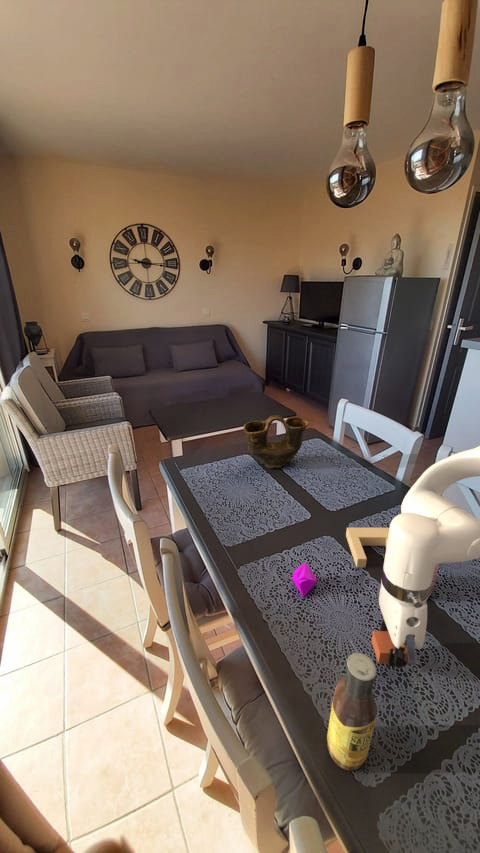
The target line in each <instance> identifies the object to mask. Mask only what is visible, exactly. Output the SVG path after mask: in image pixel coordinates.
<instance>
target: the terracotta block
mask: <svg viewBox="0 0 480 853" xmlns="http://www.w3.org/2000/svg"><path fill="white" fill-rule="evenodd" d="M371 645H372V648H373V650H374V654H375V657H376V660H377V664H385V665H387V664H388V658H389V653H390V649H393V642H392V640H391V637H390V634H389V632H388V631H380V630H373V631H372V636H371ZM400 647H405V645H402V646H400ZM416 654H417V652H415V655H416ZM388 665H389V664H388Z"/></svg>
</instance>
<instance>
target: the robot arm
mask: <svg viewBox="0 0 480 853" xmlns="http://www.w3.org/2000/svg"><path fill="white" fill-rule="evenodd" d="M474 477H480V445H478V446H476V447H474V448H471V449H466V450H462V451H460V452H456V453H454V454H451V455H449V456H446V457H445V458H443V459H440V460H439V461H437V462H435V463H434V464H432V465H430V466H429V467H427V469H425V470H424V472H423V473H422V474H421V475H420V476H419V477H418V479H417V480H416V481H415V482H414V484H413V485H412V486H411V487H410V489H409V490H408V491H407V493H406V494H405V495H404V497H403V500H402V502H401V506H400V513H399V514H396V515H395V516H394V517H393V518H392V519H391V522H390V524H389V527H388V528H389V534H388V540H387V547H385V554H384V555H385V556H384V561H383V567H382V573H381V579H380V588H379V594H378V606H379V609H380V612H381V617H380V620H381V623H380V627H379V631H388V632H389V634H390V637H391V640H392V642H393V649H390V653H389V658H388V666H389V667H396V668H403V667H406V666H407V665H411V666H413V665H414V666H415V665H417V658H416V654H415V653H416V650H422V649H423V648H424V644H425V639H426V633H427V626H428V603H427V600H428V599H429V597H430V596H429V592H430V587H431V583H432V579H433V574H434V570H435V566H436V565H437V564H450V563H464V562H470V561H474V560H477V559H480V519H478V518H477V517H475V516H473V515H471V514H470V513H468V512H467V511H465V510H464V509H462V508H461V507H459V505H456V504H455V503H453V502H452V501H450V500H449V499H447V498H446V497H444V496H443V494H444V492H445V491H447V489H448V488H450V486H452V485H454V484H455V483H457V482H459V481H462V480H464V479H469V478H474ZM428 596H429V597H428ZM402 645H405V647H400V646H402Z"/></svg>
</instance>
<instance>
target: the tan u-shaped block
mask: <svg viewBox="0 0 480 853" xmlns="http://www.w3.org/2000/svg"><path fill="white" fill-rule="evenodd" d="M389 528H390V527H346V532H345V538H346V540H347V544H348V546H349V549H350V552H351V555H352V558H353V562H354V565H355V568H357V569H361V568H362V569H366V567H367V561H368V559H367V558H368V557H367V556H366V553H365V550H364V548H363V546H367V547H370V546H371V547H373V546H374V547H385V548H386V547H387V540H388V534H389Z"/></svg>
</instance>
